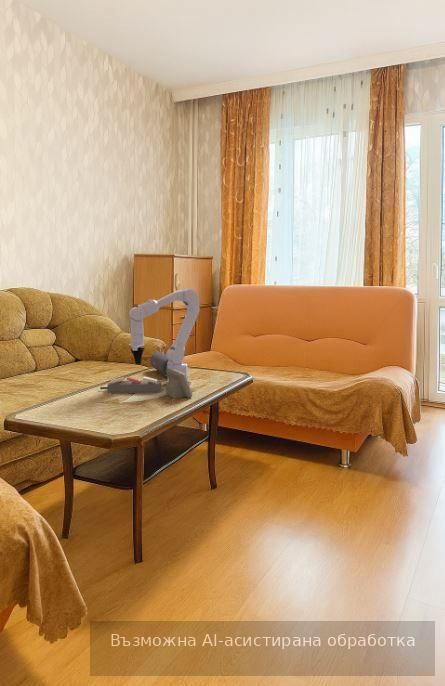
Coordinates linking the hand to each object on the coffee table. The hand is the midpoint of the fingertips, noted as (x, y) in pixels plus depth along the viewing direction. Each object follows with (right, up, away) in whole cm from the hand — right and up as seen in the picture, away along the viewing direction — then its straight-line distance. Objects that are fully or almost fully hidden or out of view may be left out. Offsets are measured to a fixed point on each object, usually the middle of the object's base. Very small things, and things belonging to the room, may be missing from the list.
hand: (138, 364), depth 235 cm
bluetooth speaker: (+8, -6, +27) cm, 29 cm away
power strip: (-2, -11, -8) cm, 14 cm away
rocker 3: (+7, -7, -11) cm, 14 cm away
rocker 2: (0, -7, -11) cm, 13 cm away
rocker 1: (-7, -7, -11) cm, 14 cm away
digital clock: (+20, -13, -17) cm, 29 cm away
